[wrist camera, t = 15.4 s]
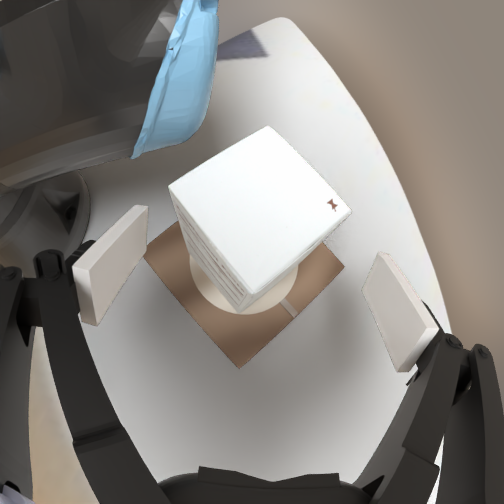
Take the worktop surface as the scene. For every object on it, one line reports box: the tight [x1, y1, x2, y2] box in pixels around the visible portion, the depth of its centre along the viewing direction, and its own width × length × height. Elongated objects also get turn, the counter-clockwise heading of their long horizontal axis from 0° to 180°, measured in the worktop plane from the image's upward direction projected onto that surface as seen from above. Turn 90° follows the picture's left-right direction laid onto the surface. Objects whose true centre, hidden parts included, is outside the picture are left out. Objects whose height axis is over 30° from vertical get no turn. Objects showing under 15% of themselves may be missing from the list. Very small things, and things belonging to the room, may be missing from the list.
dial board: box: [143, 221, 345, 369], centre depth 28 cm, size 14×14×1 cm
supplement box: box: [168, 126, 352, 313], centre depth 21 cm, size 7×7×13 cm
